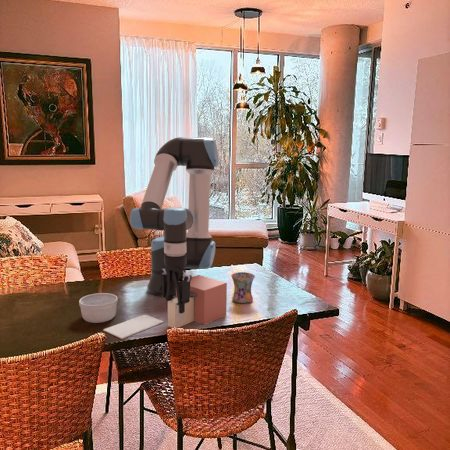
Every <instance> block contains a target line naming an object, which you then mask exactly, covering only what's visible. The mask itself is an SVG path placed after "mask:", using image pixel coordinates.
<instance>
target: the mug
mask: <svg viewBox="0 0 450 450" xmlns="http://www.w3.org/2000/svg"><path fill="white" fill-rule="evenodd" d="M230 277H231V278H232V281H233V285H234V287H233V288H234V289H233V295H232V298H231V299H232V301H233V302H234V303H238V304H248V303H250V302H252V301H254V297H253V295H252V285H253V281H254V279H255V277H256V276H255V274H253V273H251V272H245V271H240V272H239V271H238V272H234V273H232V274H231V276H230Z"/></svg>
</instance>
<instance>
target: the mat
mask: <svg viewBox="0 0 450 450" xmlns="http://www.w3.org/2000/svg"><path fill="white" fill-rule="evenodd" d="M163 323H165V322H164V321H163V320H161V319H158V318H155V317H152V315H151V316H150V315H148V314H143V315H139V316H136V317H134V318H131V319H128V320H126V321H123V322H120V323H117V324H114V325H112V326H109V327H106V328H103V331H104V332H106V333H108V334H110V335H112V336H115V337H117V338H118V339H120V340H123V339H126V338H128V337H131V336H133V335H136V334H138V333H141V332H143V331H146V330H148V329H152V328H154V327H156V326H159V325H162V324H163Z"/></svg>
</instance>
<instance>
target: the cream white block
mask: <svg viewBox="0 0 450 450" xmlns="http://www.w3.org/2000/svg"><path fill="white" fill-rule="evenodd" d="M177 303H178V299H177V298H176V297H175V298H173V300H170V301H168V309H167V327H169V328H172V329H174V328H173V327H178V328H181V327H182V326H183V327H184V326H186V325H188V324H189V323H192V322H195V297H193V296H190V301H189V302H188V303H185V312H184V321H181V322H179V323H177V322H176V304H177Z"/></svg>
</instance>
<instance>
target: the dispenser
mask: <svg viewBox="0 0 450 450" xmlns="http://www.w3.org/2000/svg"><path fill="white" fill-rule="evenodd" d="M178 282H179V281H178ZM227 290H228V283H227V282H226V281H223V280H219V279H215V278H211V277H208V276H204V275H201V274H198V275H194V276H192V279H191V281H190V296H193V297H195V321H194V322H195V323H198V324H201V325H203V326H205V325H207V324H209V323H212V322H214V321H216V320H219V319H221V318H223V317H225V316H227V299H228V296H227V295H228V294H227V293H228V292H227ZM175 298H177V291H176V295H175Z"/></svg>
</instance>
